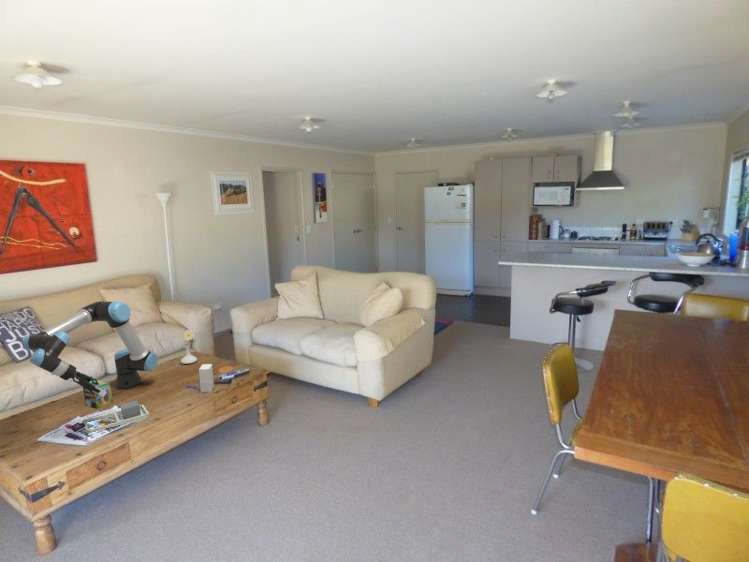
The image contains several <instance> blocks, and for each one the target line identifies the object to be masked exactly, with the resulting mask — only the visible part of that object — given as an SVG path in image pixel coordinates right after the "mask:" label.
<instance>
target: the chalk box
mask: <svg viewBox="0 0 749 562" xmlns="http://www.w3.org/2000/svg"><path fill="white" fill-rule="evenodd" d="M90 379H91V381H92V382H91V384H92V385H94V386H96V387H98V388H100V389H102V390H104V391H106V392H107V393H106V394H105V396H104V397H103V396H101V395H99V394H97V393H95V392H93V391H92V392H90V391H89V390H87V389H86V388H84V387H82V391H83V397H84V402H85V406H86V407H88V408H92V409H95V410H98V409H100V408H102V407H104V406H107V405H109V404H110V403H113V402H114V401H113V395H112V390H111V383H110V381H107V380H101V379H97V378H90ZM93 380H95V382H94V381H93ZM90 389H91V388H90Z"/></svg>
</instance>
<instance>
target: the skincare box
mask: <svg viewBox="0 0 749 562" xmlns="http://www.w3.org/2000/svg"><path fill="white" fill-rule="evenodd" d="M198 373H199V376H198V377H199V385H200V388H199V389H200V393H201V394H203V392H204V393H212V391H213V390H212V389H214V387H215V383H214V380H215V379H214V371H213V364H212V363H206V364H205V363H204V364H201V366H200V367H199V368H198Z"/></svg>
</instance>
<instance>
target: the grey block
mask: <svg viewBox="0 0 749 562" xmlns="http://www.w3.org/2000/svg"><path fill="white" fill-rule="evenodd" d="M140 405H141V404H139V402H138V401H137V400H133V401H129V402H125V403H121V404H120V410H121V412H122V417H123V419H124V420H126V419H129V418H133V417H136V416H140V415H141V412H140Z"/></svg>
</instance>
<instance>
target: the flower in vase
mask: <svg viewBox="0 0 749 562" xmlns="http://www.w3.org/2000/svg"><path fill="white" fill-rule="evenodd" d="M194 337H195V332H194V331H193V330H191V329H188V330H186V331H184V332H183V334H182V340H183V342H185V343H184V344H183V346H184V348H185V351H186V352H185V355H184V356H183V357H182V358H181V359H180V363H181V364H182V365H190V364H193V363H196V362H197V361H198V358H197V356H194V355H193V354H191V351H190V346H191V345H192V344H194V343H196V341H195V340H194Z"/></svg>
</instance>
